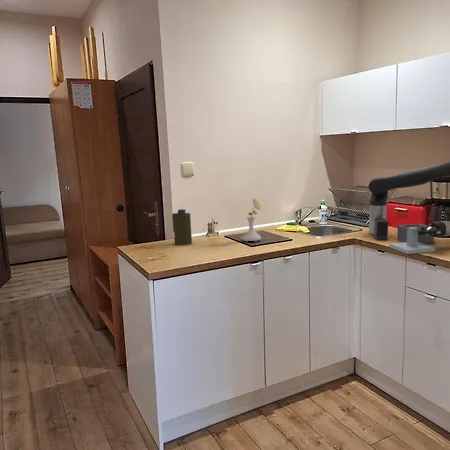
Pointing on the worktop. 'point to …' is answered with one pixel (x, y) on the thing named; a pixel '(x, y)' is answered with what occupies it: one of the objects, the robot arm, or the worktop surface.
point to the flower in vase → (251, 234)
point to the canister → (182, 228)
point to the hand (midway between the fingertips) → (413, 231)
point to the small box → (381, 229)
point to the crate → (421, 238)
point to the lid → (412, 243)
